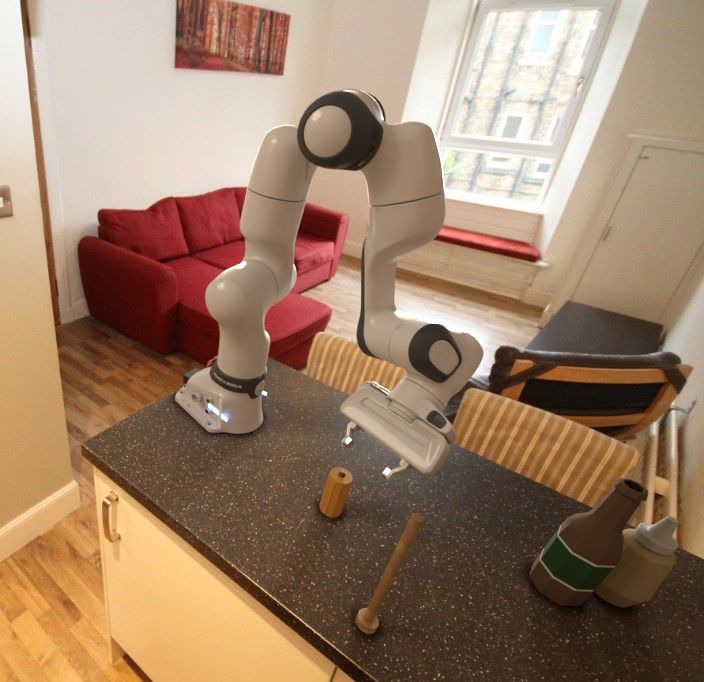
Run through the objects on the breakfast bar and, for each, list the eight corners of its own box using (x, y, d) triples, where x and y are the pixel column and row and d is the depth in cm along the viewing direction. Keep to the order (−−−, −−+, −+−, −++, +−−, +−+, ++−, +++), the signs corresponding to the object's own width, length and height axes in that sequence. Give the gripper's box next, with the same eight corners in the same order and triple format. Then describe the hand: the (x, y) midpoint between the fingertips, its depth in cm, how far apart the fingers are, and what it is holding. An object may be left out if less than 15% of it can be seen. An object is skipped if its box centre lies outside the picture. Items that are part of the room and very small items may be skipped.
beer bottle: (516, 573, 77) (588, 472, 65) (544, 558, 80) (618, 460, 68) (564, 616, 71) (653, 514, 59) (592, 599, 73) (682, 499, 62)
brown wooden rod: (352, 623, 67) (401, 516, 55) (360, 609, 69) (409, 503, 57) (371, 638, 65) (426, 531, 54) (379, 623, 67) (434, 517, 56)
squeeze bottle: (622, 622, 70) (694, 551, 62) (568, 577, 77) (626, 505, 68) (649, 604, 73) (721, 533, 65) (595, 562, 80) (654, 491, 71)
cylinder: (315, 508, 85) (327, 471, 81) (325, 496, 88) (337, 460, 83) (334, 521, 83) (347, 484, 78) (344, 509, 86) (357, 472, 81)
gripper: (363, 370, 89) (317, 423, 89) (461, 432, 74) (407, 495, 74) (371, 383, 93) (328, 433, 93) (466, 444, 78) (414, 503, 78)
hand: (364, 461), depth 84 cm, fingers open, 8 cm apart
